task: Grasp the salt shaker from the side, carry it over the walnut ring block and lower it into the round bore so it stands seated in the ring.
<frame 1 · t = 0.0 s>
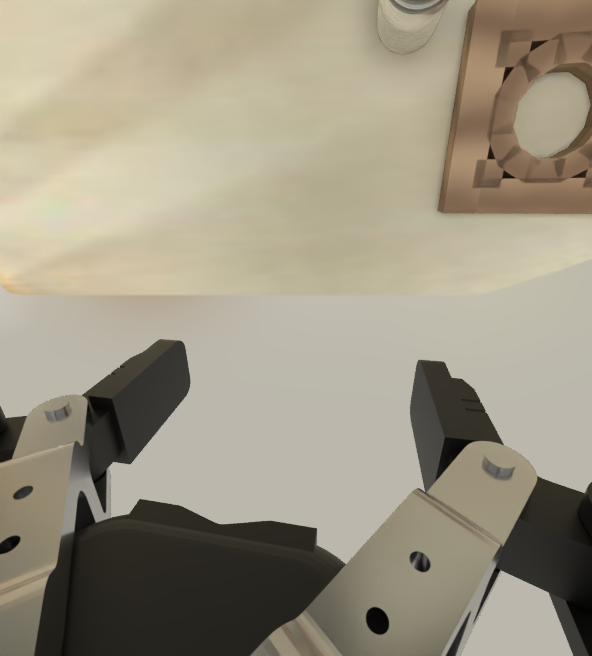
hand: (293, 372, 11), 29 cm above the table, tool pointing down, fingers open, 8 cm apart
salt shaker: (407, 17, 29), on the table
ring block: (545, 117, 30), on the table
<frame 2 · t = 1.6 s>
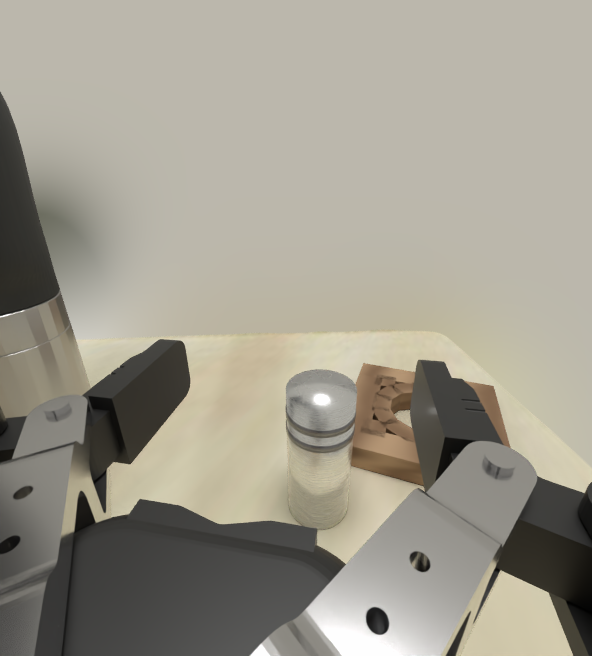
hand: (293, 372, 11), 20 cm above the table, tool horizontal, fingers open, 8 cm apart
salt shaker: (317, 501, 30), on the table
ring block: (419, 428, 38), on the table
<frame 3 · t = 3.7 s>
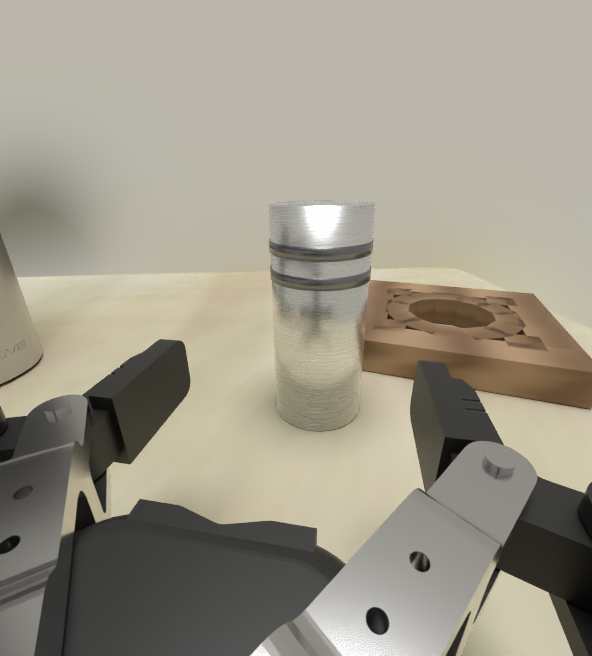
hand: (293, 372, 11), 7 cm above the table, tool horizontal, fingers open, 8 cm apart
salt shaker: (317, 403, 21), on the table
ring block: (445, 337, 30), on the table
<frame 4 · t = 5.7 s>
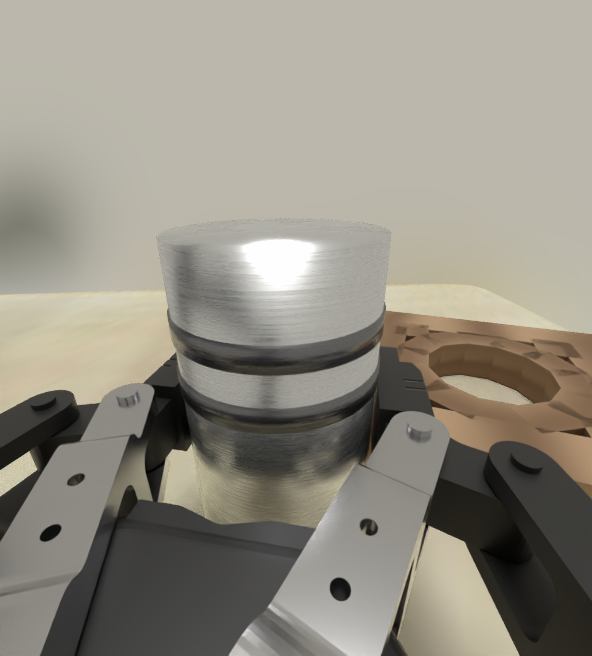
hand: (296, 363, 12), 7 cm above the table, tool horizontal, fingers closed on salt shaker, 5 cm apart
salt shaker: (286, 558, 13), on the table, touching gripper
ring block: (479, 403, 21), on the table
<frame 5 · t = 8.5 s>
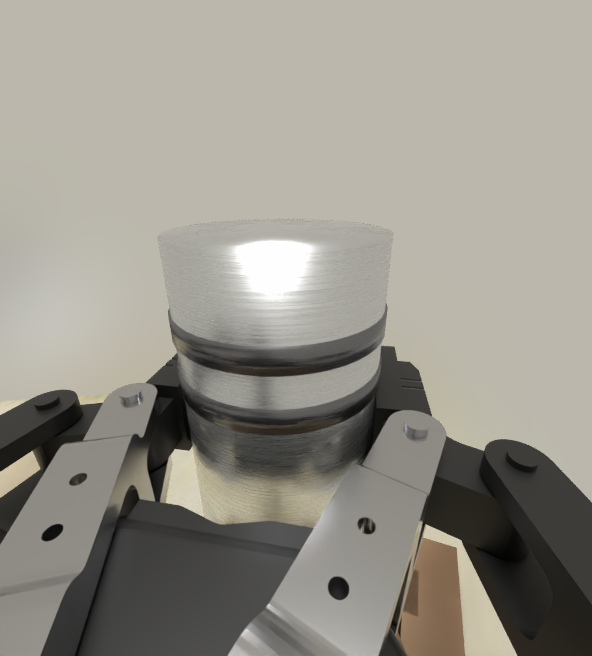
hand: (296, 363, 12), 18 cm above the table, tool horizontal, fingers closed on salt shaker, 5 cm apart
salt shaker: (286, 560, 13), point 11 cm above the table, touching gripper
when the fingers open (8 cm above the table, at t = 11.3 s): salt shaker drops 1 cm, resting in ring block.
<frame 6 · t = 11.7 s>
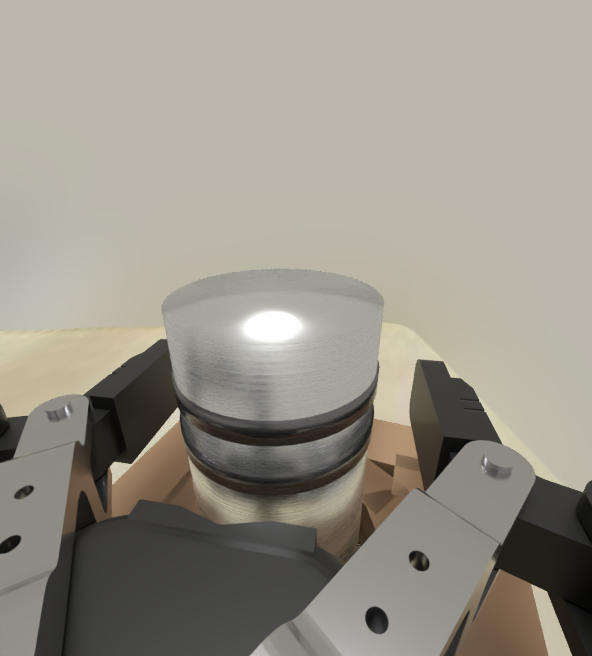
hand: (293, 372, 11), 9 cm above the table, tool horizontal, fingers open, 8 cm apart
salt shaker: (284, 587, 13), resting in ring block
ring block: (286, 583, 13), on the table
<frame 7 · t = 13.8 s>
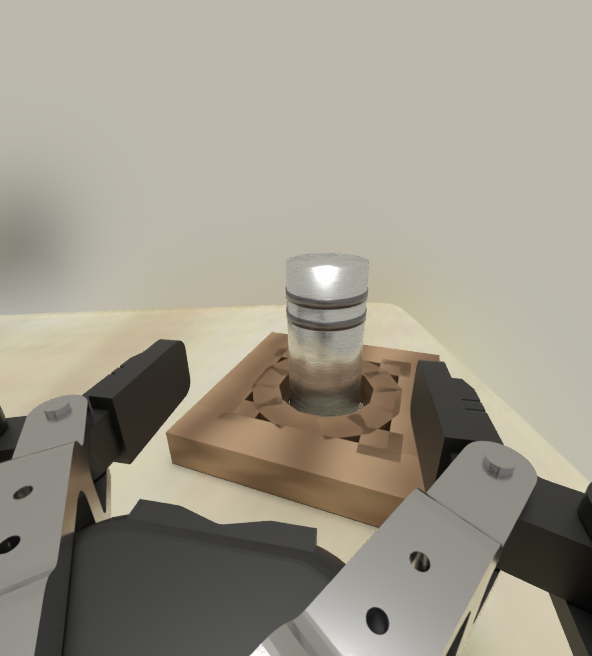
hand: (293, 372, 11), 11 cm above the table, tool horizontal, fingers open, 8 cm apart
salt shaker: (324, 416, 26), resting in ring block
ring block: (325, 414, 26), on the table
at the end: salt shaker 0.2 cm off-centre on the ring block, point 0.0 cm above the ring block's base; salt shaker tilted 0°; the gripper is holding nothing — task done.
